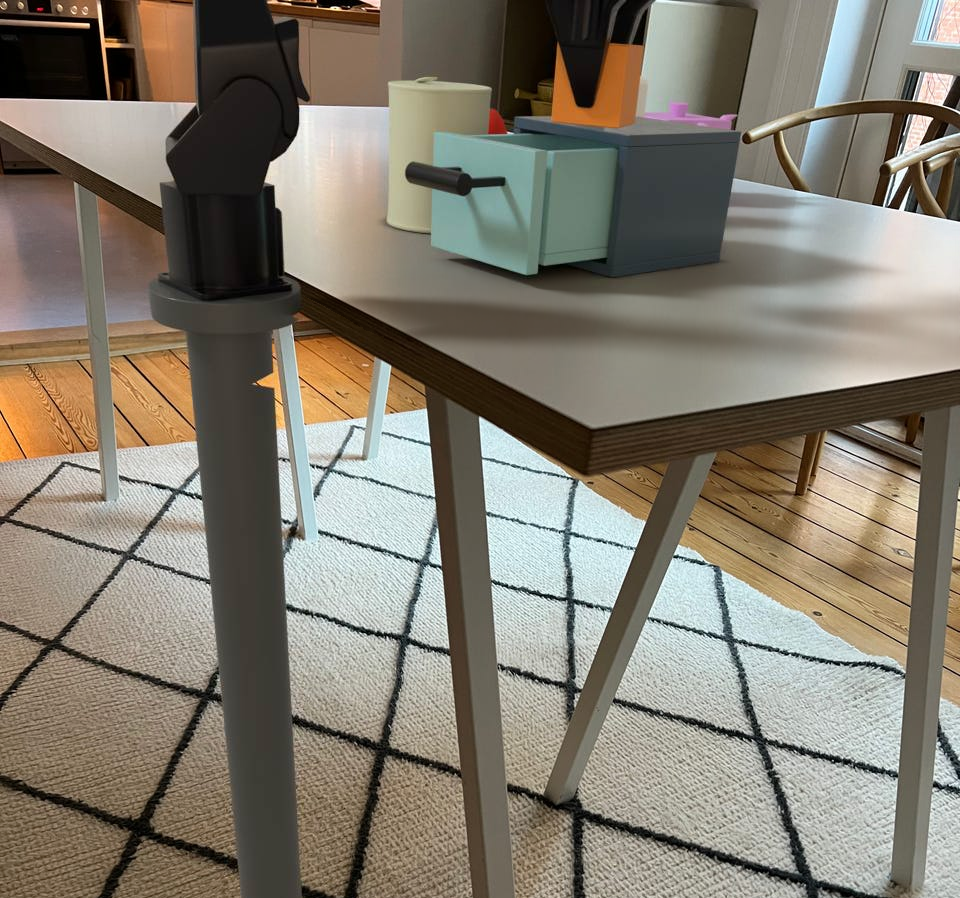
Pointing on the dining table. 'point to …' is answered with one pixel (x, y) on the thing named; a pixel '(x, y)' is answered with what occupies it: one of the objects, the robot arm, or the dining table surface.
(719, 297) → the dining table surface
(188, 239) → the robot arm
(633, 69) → the orange rectangular prism
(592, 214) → the drawer
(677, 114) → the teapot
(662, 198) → the small storage cabinet
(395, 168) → the can
